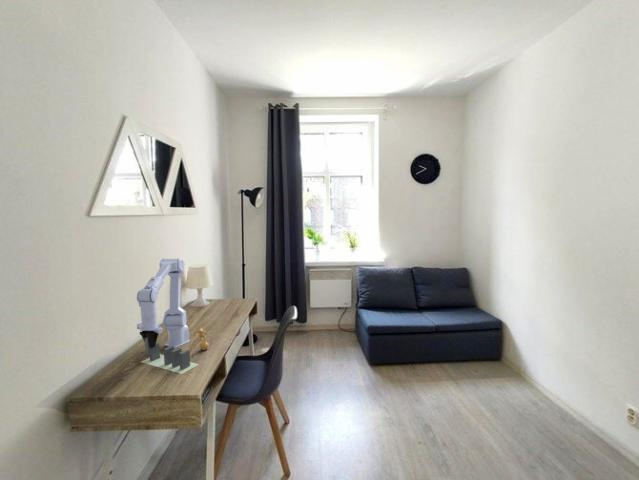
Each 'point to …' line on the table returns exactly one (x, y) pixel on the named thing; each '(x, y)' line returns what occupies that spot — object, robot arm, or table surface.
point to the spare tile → (147, 347)
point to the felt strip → (160, 364)
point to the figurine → (204, 344)
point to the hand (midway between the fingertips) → (150, 346)
